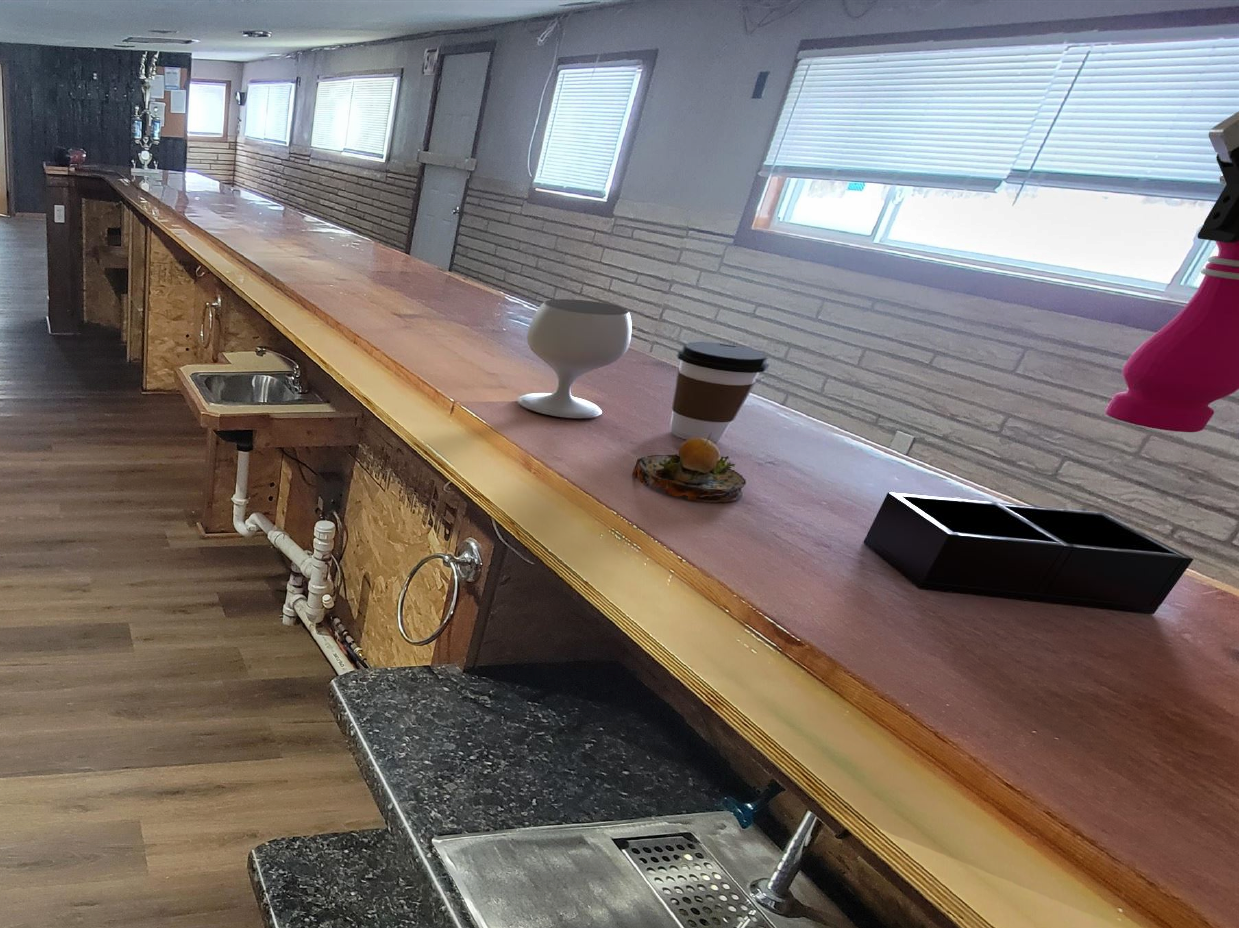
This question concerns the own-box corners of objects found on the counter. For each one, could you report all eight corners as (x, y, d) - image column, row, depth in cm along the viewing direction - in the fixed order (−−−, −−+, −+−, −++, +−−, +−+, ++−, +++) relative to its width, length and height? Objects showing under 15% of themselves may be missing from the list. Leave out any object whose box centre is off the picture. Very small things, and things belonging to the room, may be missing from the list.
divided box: (1071, 564, 86) (1104, 512, 83) (1154, 614, 77) (1194, 558, 74) (862, 542, 88) (887, 492, 85) (919, 588, 79) (949, 534, 76)
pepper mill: (1158, 411, 77) (1312, 170, 67) (1235, 437, 71) (1418, 175, 61) (1075, 406, 77) (1215, 166, 67) (1144, 431, 71) (1310, 170, 61)
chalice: (613, 428, 120) (645, 321, 112) (511, 415, 123) (536, 310, 116) (602, 401, 131) (631, 303, 124) (510, 390, 135) (532, 294, 127)
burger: (749, 484, 102) (773, 425, 98) (731, 513, 94) (756, 450, 90) (645, 459, 108) (664, 403, 105) (620, 484, 100) (639, 424, 96)
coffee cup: (658, 418, 125) (685, 337, 119) (741, 434, 119) (774, 350, 113) (646, 436, 117) (675, 350, 111) (735, 454, 111) (769, 365, 105)
